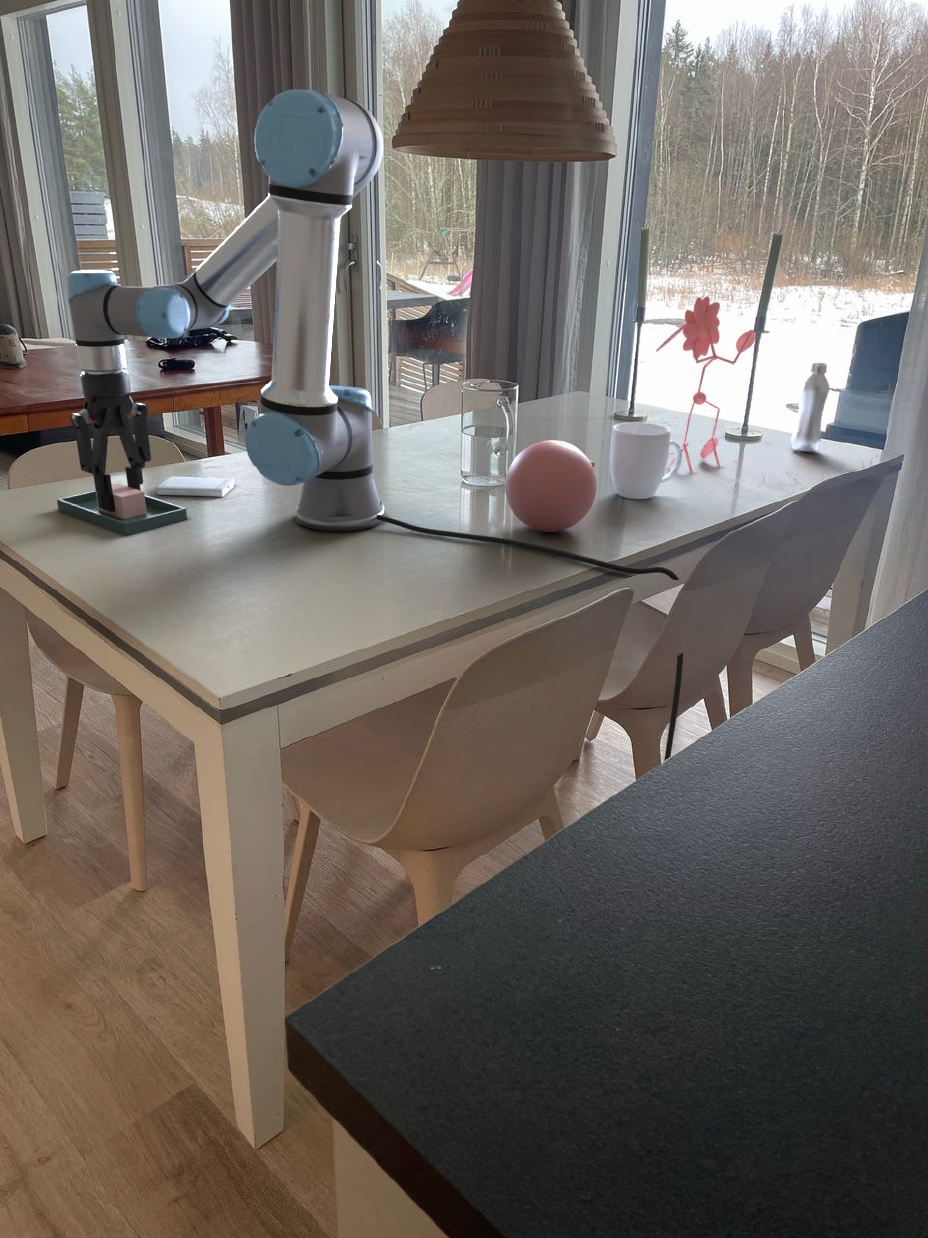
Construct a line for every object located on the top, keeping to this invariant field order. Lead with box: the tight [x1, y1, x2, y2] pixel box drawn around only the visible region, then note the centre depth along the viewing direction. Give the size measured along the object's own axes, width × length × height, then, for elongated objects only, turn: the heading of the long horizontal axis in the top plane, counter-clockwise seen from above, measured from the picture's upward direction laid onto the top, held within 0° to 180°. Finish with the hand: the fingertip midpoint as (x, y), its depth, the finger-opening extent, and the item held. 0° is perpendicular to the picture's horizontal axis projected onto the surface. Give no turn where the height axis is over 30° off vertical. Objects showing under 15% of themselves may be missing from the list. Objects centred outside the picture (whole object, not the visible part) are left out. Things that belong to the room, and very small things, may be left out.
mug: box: [609, 422, 683, 500], centre depth 179 cm, size 15×11×13 cm
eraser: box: [94, 482, 147, 519], centre depth 162 cm, size 8×5×4 cm, turn 51°
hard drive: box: [156, 475, 235, 498], centre depth 178 cm, size 2×8×12 cm
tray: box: [56, 490, 188, 537], centre depth 163 cm, size 21×12×2 cm, turn 51°
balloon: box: [504, 439, 598, 533], centre depth 159 cm, size 15×20×15 cm
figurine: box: [655, 295, 757, 474], centre depth 198 cm, size 15×26×35 cm, turn 127°
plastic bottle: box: [790, 362, 830, 453], centre depth 214 cm, size 6×7×20 cm
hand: (122, 506), depth 163 cm, fingers closed on eraser, 5 cm apart
